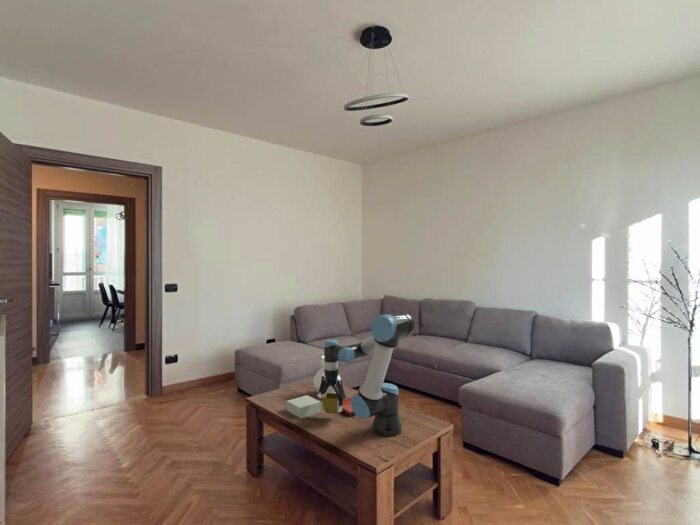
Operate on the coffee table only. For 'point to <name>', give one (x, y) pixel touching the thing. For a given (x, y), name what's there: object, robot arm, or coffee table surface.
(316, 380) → the decorative vase
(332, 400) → the flower pot
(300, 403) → the sage block
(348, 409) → the plant saucer
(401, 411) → the coffee table surface
